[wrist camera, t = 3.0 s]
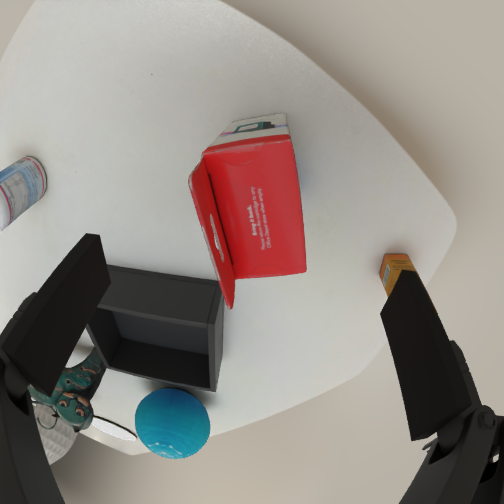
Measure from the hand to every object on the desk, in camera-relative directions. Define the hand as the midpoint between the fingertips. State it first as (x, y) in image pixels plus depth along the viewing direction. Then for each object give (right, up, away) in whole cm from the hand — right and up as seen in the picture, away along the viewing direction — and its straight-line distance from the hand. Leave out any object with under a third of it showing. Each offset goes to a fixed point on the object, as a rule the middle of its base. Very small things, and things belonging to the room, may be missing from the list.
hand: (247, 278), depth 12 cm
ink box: (+2, +10, +14) cm, 17 cm away
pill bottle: (-28, +11, +16) cm, 34 cm away
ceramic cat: (-36, -17, +36) cm, 54 cm away
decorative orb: (-15, -28, +42) cm, 52 cm away
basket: (-12, -8, +27) cm, 31 cm away
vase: (-47, -33, +48) cm, 75 cm away
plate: (-52, -64, +70) cm, 108 cm away
